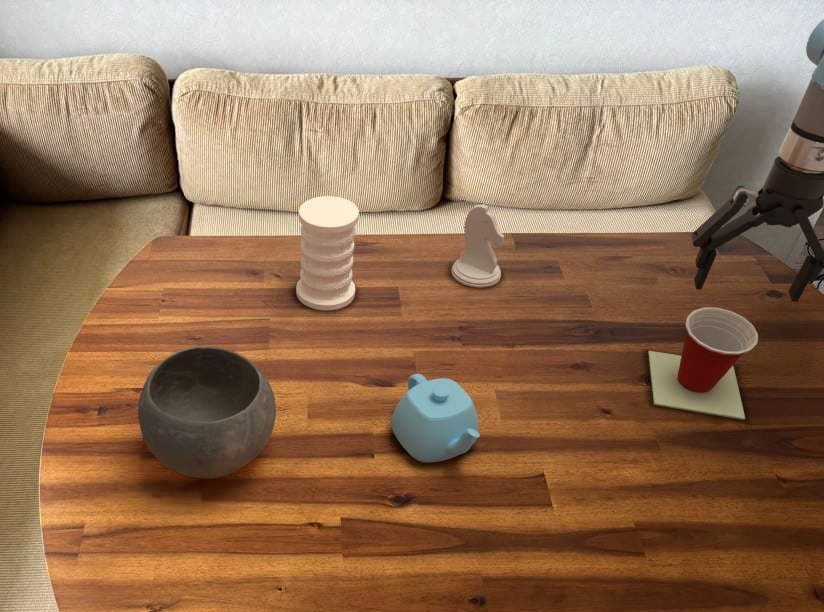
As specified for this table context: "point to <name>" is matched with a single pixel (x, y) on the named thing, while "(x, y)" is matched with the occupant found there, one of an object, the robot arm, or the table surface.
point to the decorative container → (327, 252)
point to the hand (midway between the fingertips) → (744, 290)
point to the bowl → (206, 411)
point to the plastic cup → (713, 347)
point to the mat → (674, 395)
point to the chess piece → (479, 250)
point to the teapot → (435, 419)
